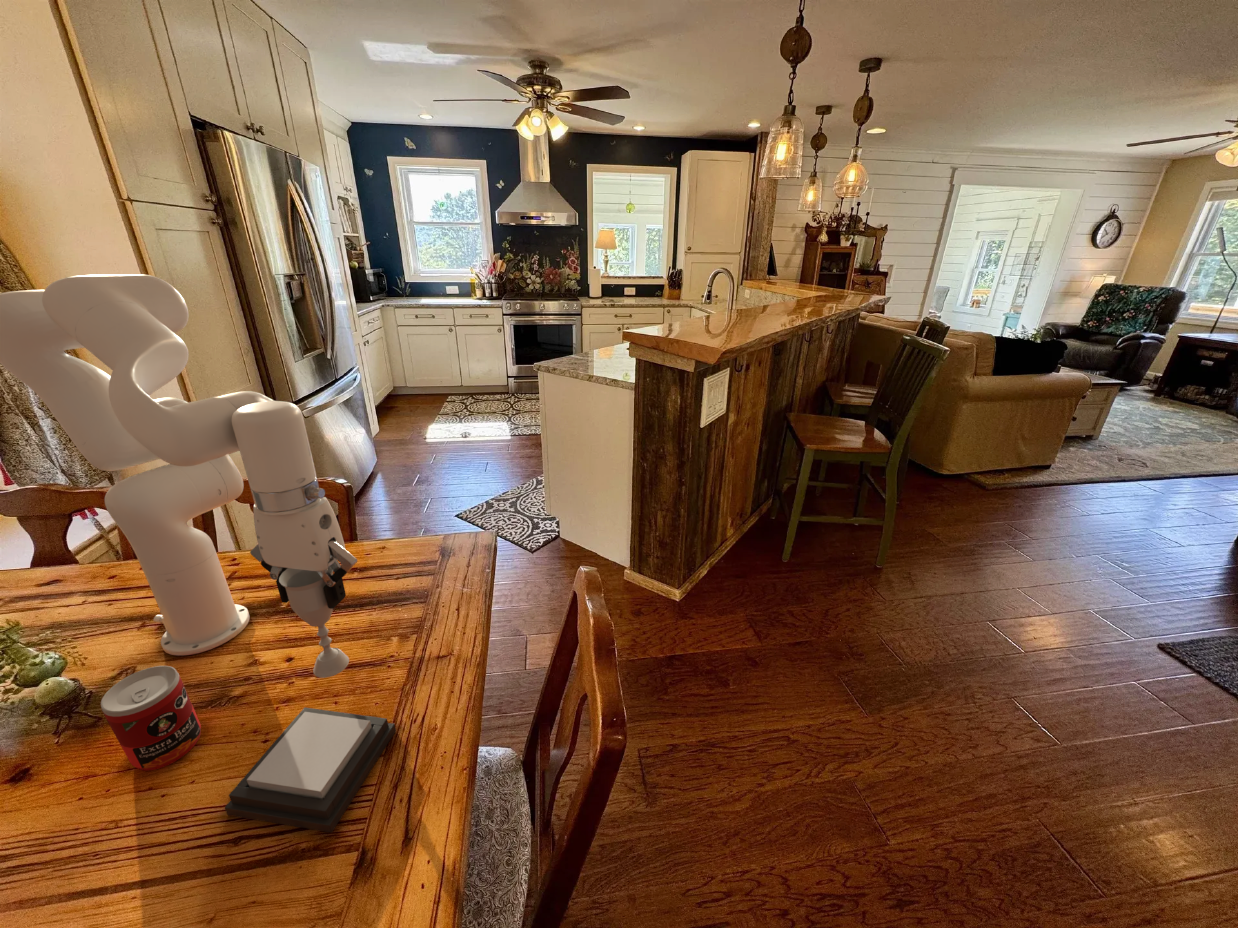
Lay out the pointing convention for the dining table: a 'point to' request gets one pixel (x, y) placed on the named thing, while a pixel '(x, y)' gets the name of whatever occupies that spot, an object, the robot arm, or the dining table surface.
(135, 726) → the canned food
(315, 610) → the chalice
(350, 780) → the scale
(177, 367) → the robot arm
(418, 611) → the dining table surface
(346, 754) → the pan
